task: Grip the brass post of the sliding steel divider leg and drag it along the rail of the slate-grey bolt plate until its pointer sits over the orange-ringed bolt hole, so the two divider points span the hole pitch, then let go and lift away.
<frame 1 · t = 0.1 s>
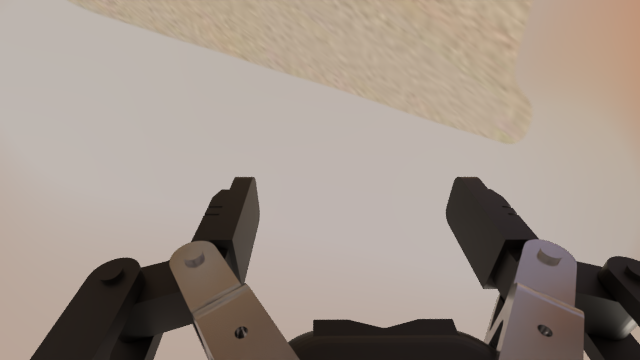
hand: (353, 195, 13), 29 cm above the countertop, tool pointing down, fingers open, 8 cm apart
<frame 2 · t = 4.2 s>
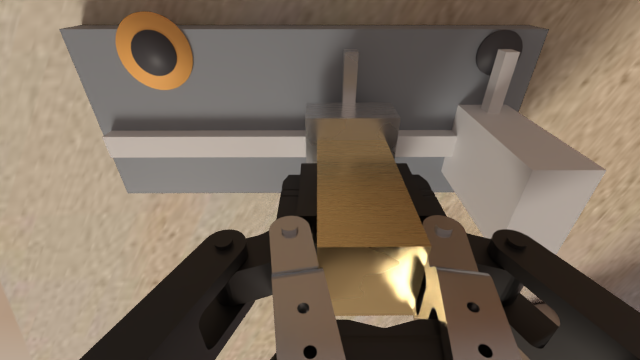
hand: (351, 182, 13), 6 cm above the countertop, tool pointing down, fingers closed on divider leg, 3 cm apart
bolt plate: (308, 113, 17), on the countertop
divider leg: (355, 170, 12), point 7 cm above the countertop, slide at 0.0 cm, touching gripper
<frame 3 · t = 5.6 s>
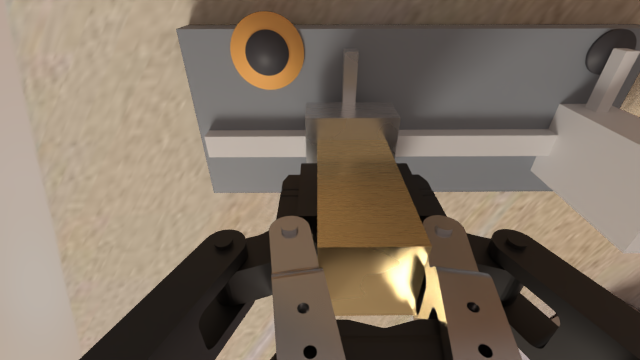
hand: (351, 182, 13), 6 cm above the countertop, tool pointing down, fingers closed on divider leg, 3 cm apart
bolt plate: (399, 112, 18), on the countertop
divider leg: (355, 169, 12), point 7 cm above the countertop, slide at 5.2 cm, touching gripper
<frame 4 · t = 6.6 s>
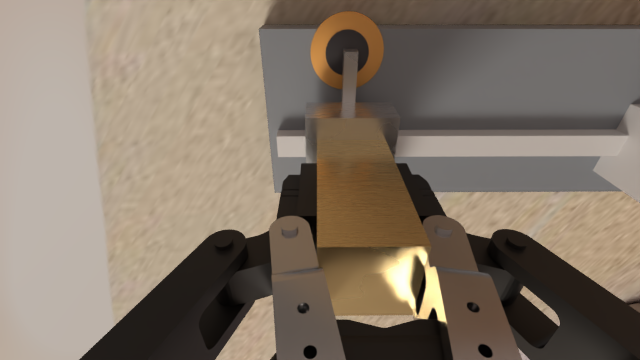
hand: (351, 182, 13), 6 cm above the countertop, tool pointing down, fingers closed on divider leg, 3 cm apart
bolt plate: (463, 112, 18), on the countertop
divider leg: (355, 169, 12), point 7 cm above the countertop, slide at 8.9 cm, touching gripper
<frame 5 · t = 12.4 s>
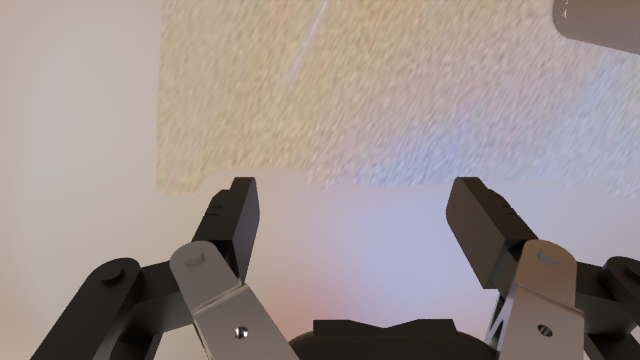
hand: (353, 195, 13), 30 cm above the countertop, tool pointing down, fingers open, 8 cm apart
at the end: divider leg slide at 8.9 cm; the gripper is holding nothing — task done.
